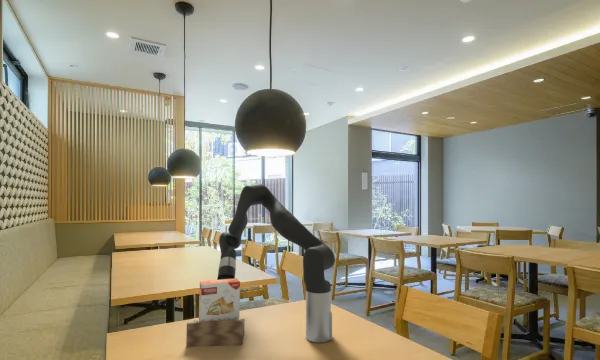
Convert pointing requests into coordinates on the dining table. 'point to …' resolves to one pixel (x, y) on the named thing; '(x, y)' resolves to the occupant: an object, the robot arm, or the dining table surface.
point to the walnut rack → (215, 333)
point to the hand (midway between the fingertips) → (223, 305)
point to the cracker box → (219, 300)
